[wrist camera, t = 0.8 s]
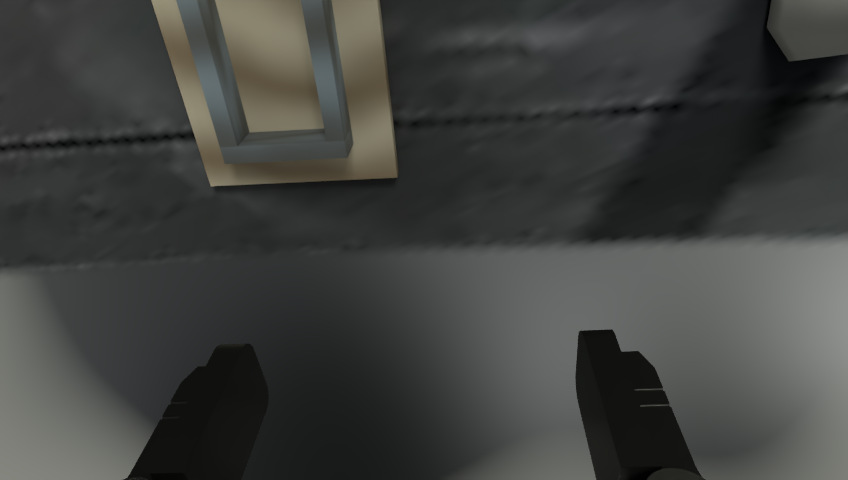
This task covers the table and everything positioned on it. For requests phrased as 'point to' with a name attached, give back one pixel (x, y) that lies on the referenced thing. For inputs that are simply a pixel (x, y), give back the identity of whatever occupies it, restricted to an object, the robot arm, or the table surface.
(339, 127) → the keyhole guide
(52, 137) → the table surface
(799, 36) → the flask
